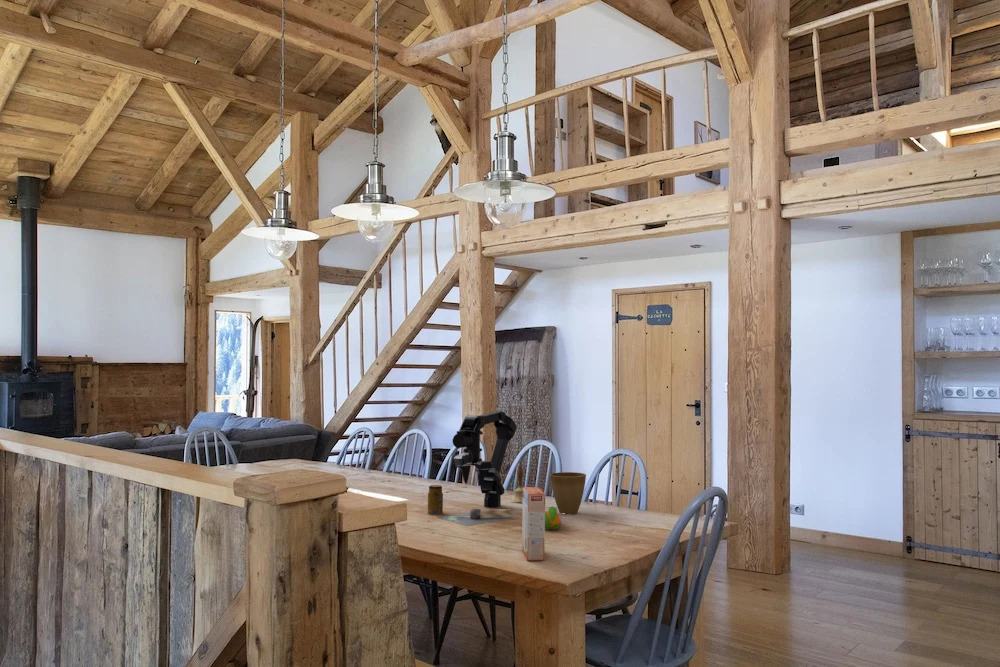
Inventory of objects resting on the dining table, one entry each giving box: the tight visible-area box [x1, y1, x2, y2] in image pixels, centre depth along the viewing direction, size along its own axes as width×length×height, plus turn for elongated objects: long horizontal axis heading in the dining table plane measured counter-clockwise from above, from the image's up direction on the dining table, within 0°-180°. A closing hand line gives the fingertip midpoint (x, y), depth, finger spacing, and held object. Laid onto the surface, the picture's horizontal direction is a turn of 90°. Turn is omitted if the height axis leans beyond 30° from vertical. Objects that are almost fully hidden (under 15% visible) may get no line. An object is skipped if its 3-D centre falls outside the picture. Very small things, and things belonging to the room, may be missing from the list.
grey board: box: [436, 512, 520, 527], centre depth 298 cm, size 26×20×1 cm
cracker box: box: [521, 486, 546, 562], centre depth 243 cm, size 14×6×21 cm, turn 5°
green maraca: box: [545, 506, 561, 531], centre depth 287 cm, size 7×8×20 cm
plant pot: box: [549, 471, 587, 515], centre depth 313 cm, size 15×15×16 cm
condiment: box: [427, 484, 444, 516], centre depth 306 cm, size 7×8×12 cm
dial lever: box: [450, 508, 512, 519], centre depth 296 cm, size 24×4×3 cm, turn 98°
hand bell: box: [510, 465, 524, 502], centre depth 339 cm, size 8×8×16 cm
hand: (472, 484), depth 311 cm, fingers open, 9 cm apart
